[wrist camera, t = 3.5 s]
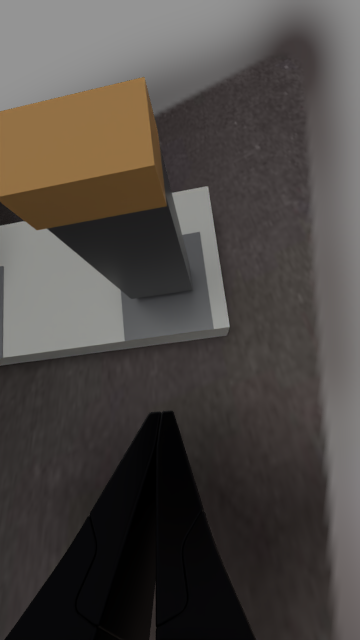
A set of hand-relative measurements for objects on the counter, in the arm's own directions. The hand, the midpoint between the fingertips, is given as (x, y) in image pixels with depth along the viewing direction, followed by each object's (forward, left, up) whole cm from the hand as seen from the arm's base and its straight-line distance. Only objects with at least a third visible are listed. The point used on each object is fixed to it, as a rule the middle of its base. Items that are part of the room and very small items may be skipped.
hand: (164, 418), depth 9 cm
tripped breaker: (+7, 0, -5) cm, 8 cm away
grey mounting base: (+8, +7, -9) cm, 14 cm away
